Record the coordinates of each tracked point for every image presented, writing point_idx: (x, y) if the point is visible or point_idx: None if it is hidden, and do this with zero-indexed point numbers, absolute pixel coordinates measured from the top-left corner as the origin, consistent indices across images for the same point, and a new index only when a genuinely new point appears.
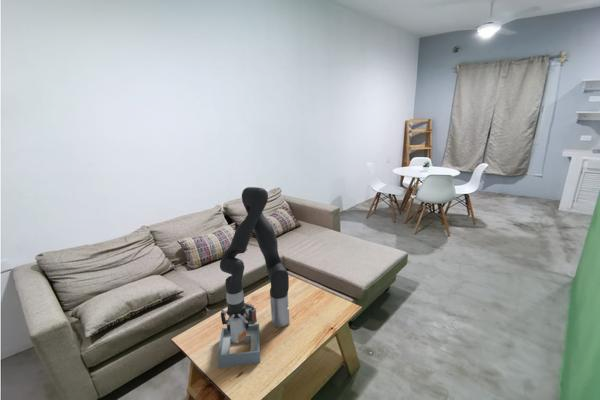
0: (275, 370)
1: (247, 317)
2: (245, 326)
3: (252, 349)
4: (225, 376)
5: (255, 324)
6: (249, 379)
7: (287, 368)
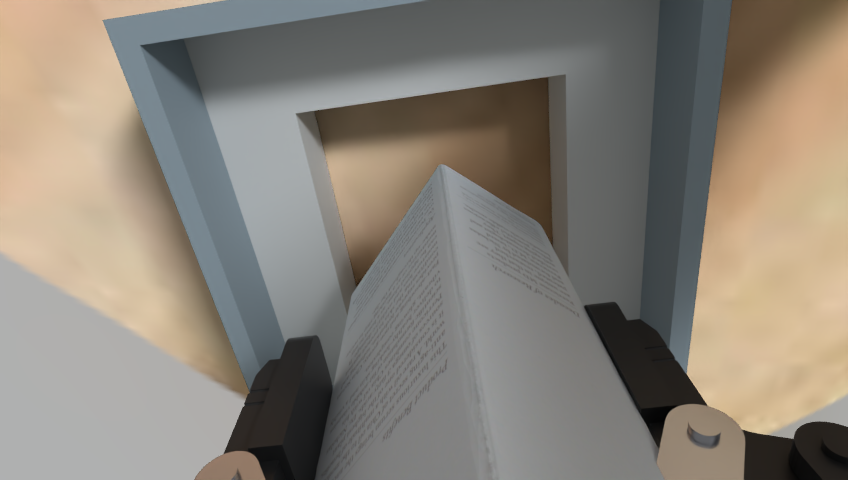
0: (742, 383)
1: (743, 462)
2: None
3: (586, 283)
4: None
5: None
6: None
7: (838, 371)
